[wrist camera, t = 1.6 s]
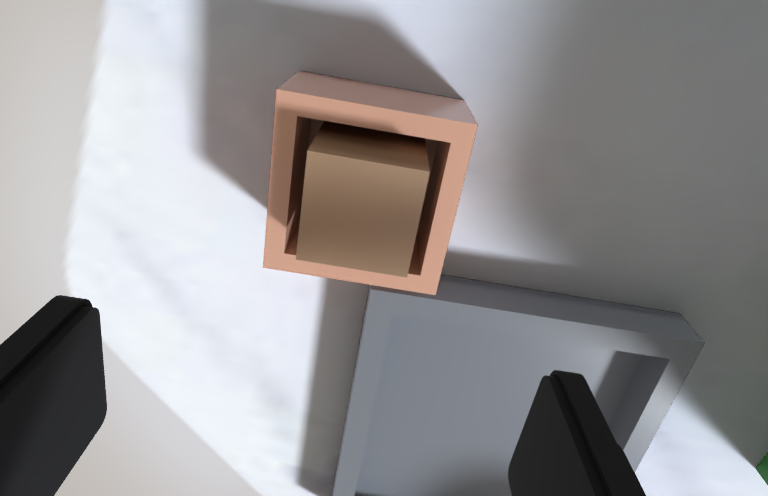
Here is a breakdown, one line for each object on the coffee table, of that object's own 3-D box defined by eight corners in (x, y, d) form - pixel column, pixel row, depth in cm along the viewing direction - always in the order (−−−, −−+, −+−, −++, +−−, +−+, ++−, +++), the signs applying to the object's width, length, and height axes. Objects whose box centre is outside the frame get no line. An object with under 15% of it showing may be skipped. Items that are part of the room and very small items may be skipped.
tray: (373, 263, 27) (371, 289, 24) (679, 313, 27) (704, 342, 25) (330, 503, 34) (325, 539, 32) (568, 537, 35) (579, 574, 33)
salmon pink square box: (299, 70, 23) (276, 89, 18) (464, 100, 23) (477, 124, 19) (284, 223, 26) (262, 267, 22) (430, 247, 26) (435, 295, 22)
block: (328, 114, 23) (307, 150, 18) (423, 131, 23) (429, 171, 18) (317, 203, 25) (295, 259, 20) (405, 218, 25) (406, 277, 20)
